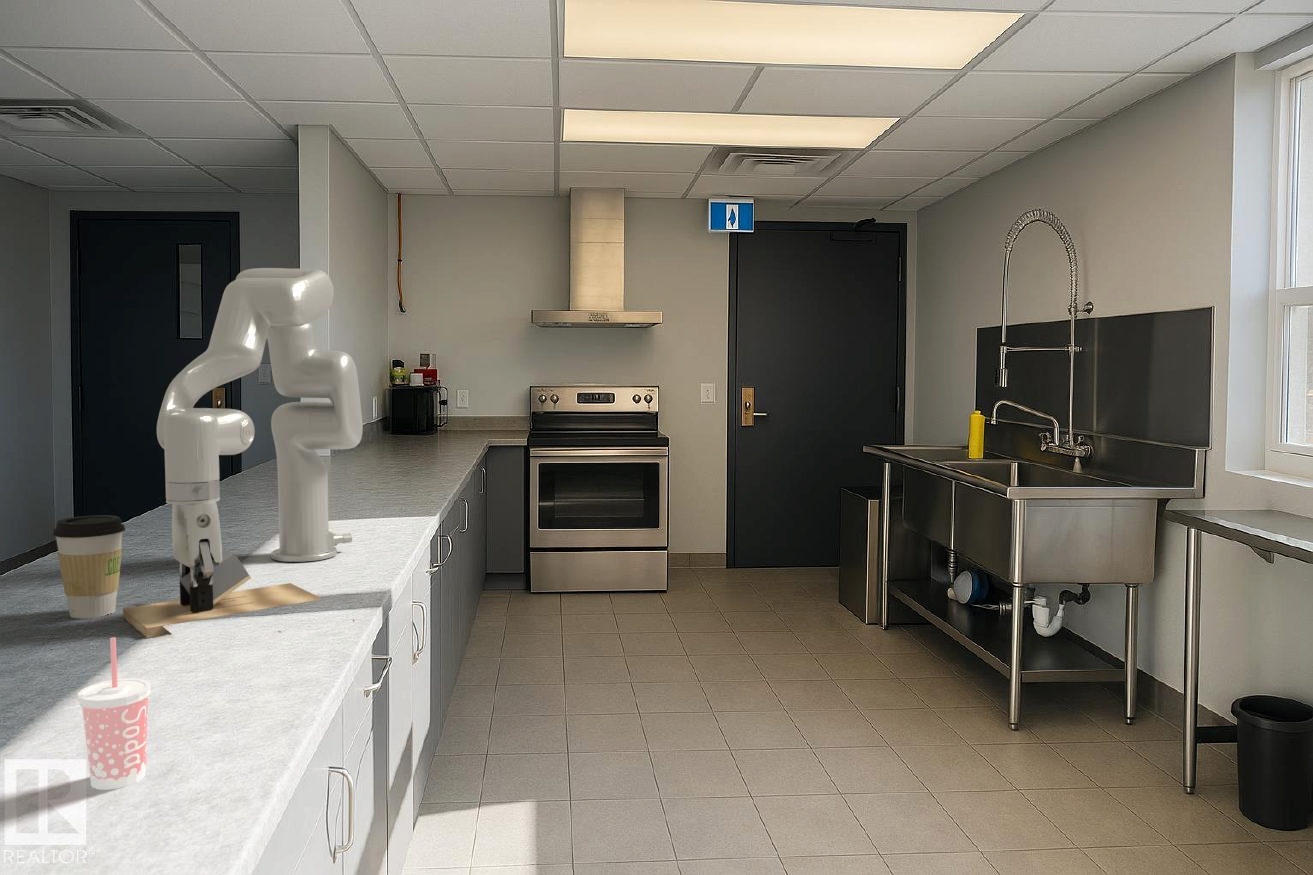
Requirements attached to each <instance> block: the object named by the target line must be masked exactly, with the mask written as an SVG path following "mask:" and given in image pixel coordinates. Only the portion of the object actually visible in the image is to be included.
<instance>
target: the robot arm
mask: <svg viewBox="0 0 1313 875" xmlns="http://www.w3.org/2000/svg"><path fill="white" fill-rule="evenodd" d="M334 291H335V290H334V285H333V282H332V280H331V277H330V276H329V275H328V274H327V273H326V272H325V271H324V270H320V269H317V268H285V267H283V268H282V267H259V268H258V267H257V268H249V269H245V270H243V271H241V272H239V273H238V274H237V275H236V277H235V279H234V280H232V281H231V282H229V284H227V286H226V287H225V289H224V292H223V294H222V298H221V301H220V304H219V308H218V310H217V311H218V312H217V315H216V318H215V322H214V326H213V329H212V332H211V336H210V339H209V344H208V347H207V349H206V351H204V352H203V353H201V354H200V355H198V356H197V357H196V358H195V359H193V360H192V361H191V362H190V363H188V364H187V365H186V366H185V367H184V368H183V369H182V370H181V371H180V372H179V373H178V374H176V376H175V377H173V379H172V381H171V382H170V383H169V385H168V387H167V388H166V391H165V394H164V396H163V400H162V402H161V407H160V409H159V414H158V418H157V422H156V438H157V441H158V444H159V445H160V447H161V448H162V449H163V450H164V470H165V472H164V473H165V476H164V477H165V499H166V500H165V501H166V502H165V503H166V504H169V505H172V508H171V510H172V511H171V541H172V542H171V543H172V544H171V545H172V553H173V557H174V559H175V560H176V561H177V562H179V564H178V566H179V574H178V575H179V579H181V578H182V577H184V576H185V575H187V574H188V573H190V572H191V582H192V587H189V588H190V594H189V593H188V592H187V590H186V589H185V587H184V586H183V585H182V583H181V582H180V581H179V600H180V604H181V605H183V606H185V605H190V611H191V612H192V613H196V612H202V611H208V610H212V609H213V579H212V575H213V570H214V568H213V563H214V564H216V565H220V564H221V563H222V551H223V545H222V535H221V534H222V533H221V521H220V515H219V509H218V504H217V502H219V501H220V500H221V488H220V484H221V483H220V457H219V456H235V455H237V454H240V453H244V452H245V451H247V449H248V448H250V446H251V445H252V443H253V441H254V438H255V433H256V432H255V423H254V422H253V419H252V418H251V417H250V416H249V415H248V414H247V413H246V412H243V411H242V410H239V409H232V408H210V407H209V408H208V407H199V408H198V407H194V406H195V404H196V403H197V402H198V401H199V399H201V398H202V397H203V396H204V395H206V394H207V393H208V392H210V391H211V390H214V389H216V388H217V387H219V386H222V385H224V384H227V383H229V382H232V381H234V380H237V379H239V378H242V377H244V376H246V375H249V374H251V373H253V372H255V371H256V370H257V369H259V367H260V365H261V363H262V360H263V355H264V352H265V347H266V343H267V344H268V345H267V346H268V350H269V359H270V366H271V368H270V369H271V373H272V379H273V384H274V388H275V389H276V391H277V393H279V394H280V395H281V396H283V397H287V398H303V399H304V398H307V399H329V400H330V401H331V402H321V401H296V402H295V401H293V402H287V403H283V404H281V405H279V406H277V408H276V409H275V410H274V411H273V412H272V415H271V419H270V422H271V423H270V425H271V433H272V437H273V438H272V439H273V442H274V447H275V455H276V468H277V493H278V494H277V496H278V499H277V500H278V535H279V536H278V538H279V541H278V544H279V548H276V549H274V550H273V551H272V552H271V555H270V556H271V559H273V560H274V561H278V562H285V563H286V562H287V563H288V562H289V563H293V562H294V563H301V562H303V563H304V562H305V563H306V562H313V561H321V560H326V559H330V558H333V557H335V556H336V555H337V554H338V549H337V548H336V546H338V544H349V543H352V541H353V535H352V534H351V533H350V532H349V533H342V534H341V533H334V532H333V531H332V532H331V531H329V525H330V524H329V481H328V479H329V478H328V477H329V476H328V474H329V473H328V468H327V466H326V464H325V462H324V460H323V459H322V458H321V456H320V455H319V454H318V452H317V451H318V450H350V449H354V448H356V447H357V446H358V445H359V444H360V442H361V441H362V438H363V426H364V425H363V414H362V405H361V404H362V403H361V397H360V396H361V394H360V386H359V377H358V370H357V366H356V363H355V361H354V359H353V357H352V356H351V355H350V354H349V353H347V352H344V351H342V350H341V351H340V350H334V349H333V350H332V349H331V350H330V349H325V350H324V349H323V350H322V349H318V348H317V346H316V344H315V336H314V330H313V329H314V328H313V325H312V323H313V322H314V321H316V319H317V320H318V319H319V318H321V317H323V315H325V314H326V313H327V312H328V311H329V309H330V308H331V306H332V304H333V300H334V296H335V294H334V293H335V292H334ZM200 565H201V566H200ZM196 570H201V571H199V572H198V574H196Z"/></svg>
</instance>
